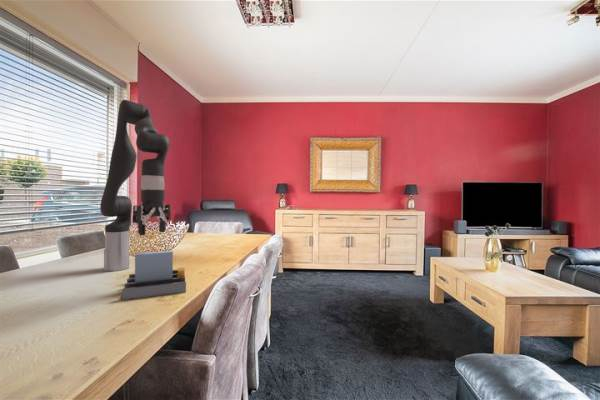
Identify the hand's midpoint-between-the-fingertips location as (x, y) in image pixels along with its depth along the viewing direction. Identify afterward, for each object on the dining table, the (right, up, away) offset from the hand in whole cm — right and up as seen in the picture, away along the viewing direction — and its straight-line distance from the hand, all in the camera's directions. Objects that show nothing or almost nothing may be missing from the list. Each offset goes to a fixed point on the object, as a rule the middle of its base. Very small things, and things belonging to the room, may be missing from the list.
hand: (152, 233), depth 99 cm
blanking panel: (0, -19, +1) cm, 19 cm away
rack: (+1, -20, +2) cm, 20 cm away
